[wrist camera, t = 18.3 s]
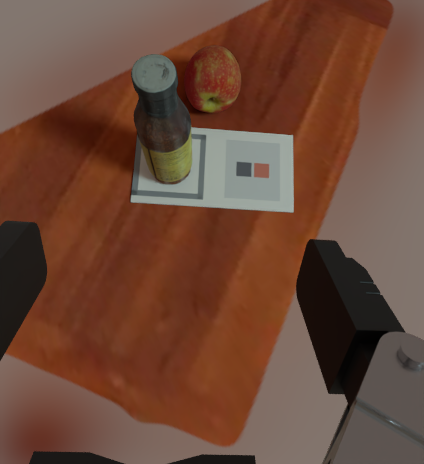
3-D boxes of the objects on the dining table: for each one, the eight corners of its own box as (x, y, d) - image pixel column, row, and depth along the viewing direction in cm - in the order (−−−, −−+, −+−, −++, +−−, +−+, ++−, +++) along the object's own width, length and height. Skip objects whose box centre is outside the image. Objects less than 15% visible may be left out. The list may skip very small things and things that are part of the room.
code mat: (130, 202, 49) (130, 201, 48) (138, 124, 51) (138, 123, 51) (293, 212, 50) (293, 212, 50) (292, 136, 53) (293, 135, 52)
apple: (183, 119, 52) (182, 85, 44) (185, 70, 54) (185, 29, 46) (236, 122, 53) (245, 90, 45) (236, 73, 54) (245, 34, 47)
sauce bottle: (200, 163, 50) (210, 71, 31) (173, 195, 49) (166, 121, 30) (164, 136, 51) (152, 30, 32) (137, 168, 50) (106, 77, 30)
